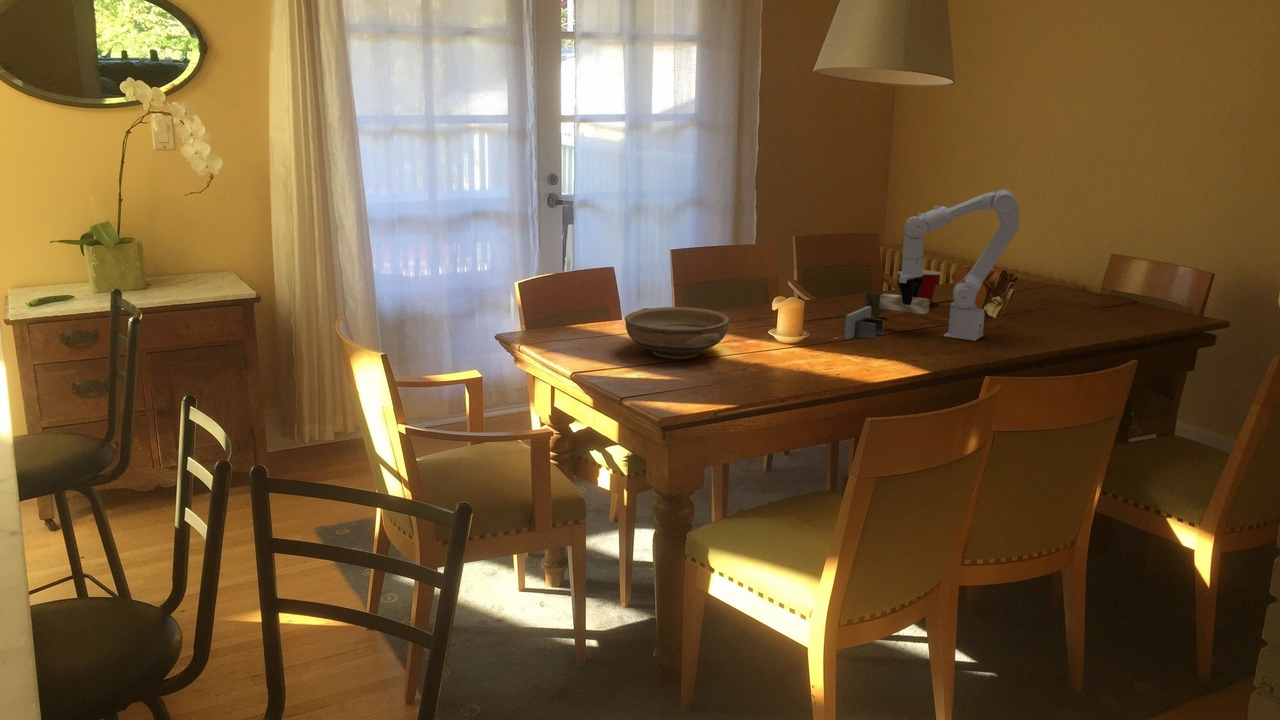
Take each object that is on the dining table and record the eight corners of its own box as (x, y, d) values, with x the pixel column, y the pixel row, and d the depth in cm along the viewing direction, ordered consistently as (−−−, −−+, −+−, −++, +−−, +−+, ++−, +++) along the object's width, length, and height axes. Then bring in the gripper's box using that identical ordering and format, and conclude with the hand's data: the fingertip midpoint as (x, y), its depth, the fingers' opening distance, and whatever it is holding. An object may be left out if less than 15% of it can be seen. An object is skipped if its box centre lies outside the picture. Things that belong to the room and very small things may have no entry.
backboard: (869, 329, 308) (871, 306, 306) (848, 339, 295) (849, 315, 293) (866, 328, 308) (867, 306, 307) (844, 338, 296) (845, 315, 294)
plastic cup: (942, 304, 343) (945, 269, 340) (932, 310, 334) (935, 274, 331) (910, 301, 349) (913, 266, 346) (900, 306, 340) (903, 271, 337)
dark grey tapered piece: (885, 316, 325) (887, 291, 323) (888, 321, 318) (890, 296, 316) (861, 315, 326) (863, 291, 324) (864, 320, 319) (866, 295, 317)
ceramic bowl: (600, 344, 289) (599, 310, 287) (686, 333, 302) (686, 300, 300) (664, 375, 258) (664, 337, 255) (757, 362, 271) (758, 325, 268)
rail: (928, 312, 300) (929, 298, 299) (924, 314, 297) (925, 300, 296) (884, 306, 308) (885, 293, 307) (879, 308, 305) (880, 295, 304)
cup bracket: (883, 334, 301) (884, 319, 300) (873, 339, 295) (874, 324, 294) (864, 331, 304) (865, 317, 303) (854, 336, 299) (855, 321, 297)
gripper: (908, 253, 305) (905, 297, 309) (890, 260, 294) (887, 305, 297) (931, 255, 301) (927, 300, 305) (913, 262, 290) (910, 308, 293)
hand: (909, 303), depth 301 cm, fingers closed on rail, 4 cm apart
